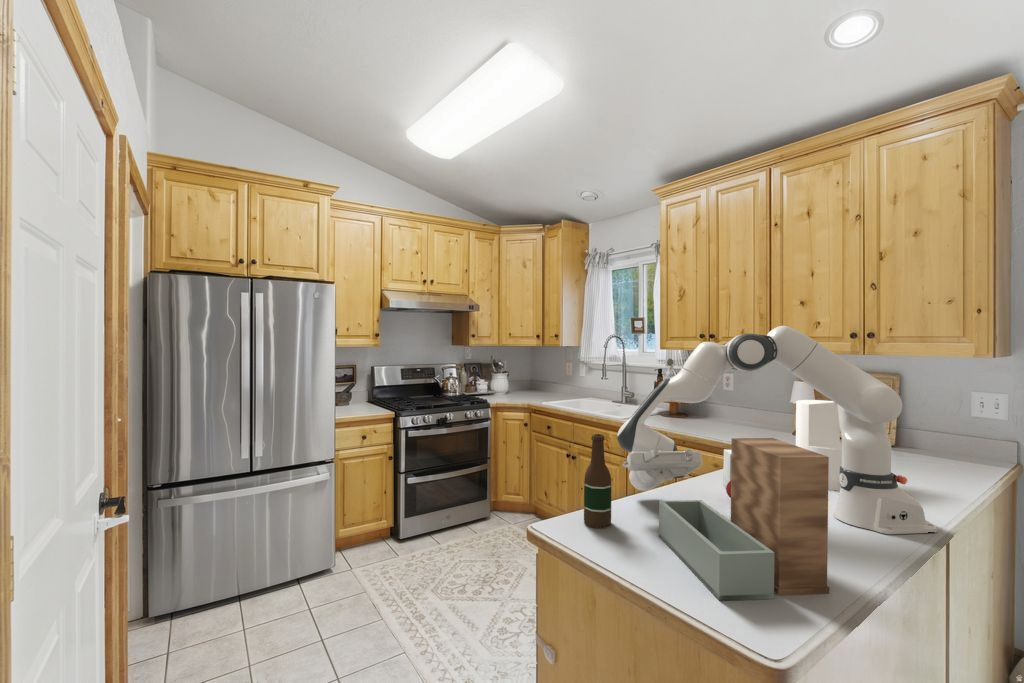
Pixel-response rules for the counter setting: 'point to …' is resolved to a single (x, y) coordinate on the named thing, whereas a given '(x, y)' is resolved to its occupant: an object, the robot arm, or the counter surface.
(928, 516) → the counter surface
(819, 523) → the stand
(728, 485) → the red round fruit
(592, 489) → the beer bottle
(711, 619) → the counter surface
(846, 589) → the counter surface
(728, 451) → the supplement box
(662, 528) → the bin
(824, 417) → the white rectangular block
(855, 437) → the robot arm
